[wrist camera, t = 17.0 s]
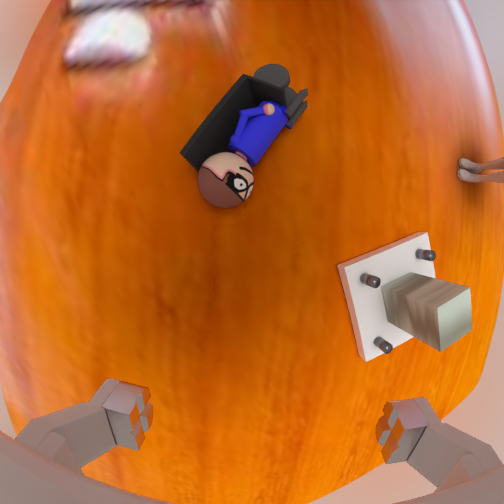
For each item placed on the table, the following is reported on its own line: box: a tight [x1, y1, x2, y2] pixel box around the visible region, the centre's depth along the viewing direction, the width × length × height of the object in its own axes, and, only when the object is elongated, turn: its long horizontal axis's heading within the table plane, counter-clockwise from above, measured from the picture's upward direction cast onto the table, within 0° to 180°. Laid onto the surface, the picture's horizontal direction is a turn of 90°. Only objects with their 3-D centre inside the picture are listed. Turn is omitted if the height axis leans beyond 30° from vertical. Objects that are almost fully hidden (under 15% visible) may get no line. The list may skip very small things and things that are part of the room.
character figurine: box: [180, 64, 308, 208], centre depth 26 cm, size 8×7×15 cm
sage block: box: [381, 272, 472, 352], centre depth 26 cm, size 4×4×10 cm
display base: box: [337, 232, 436, 362], centre depth 31 cm, size 12×12×4 cm
